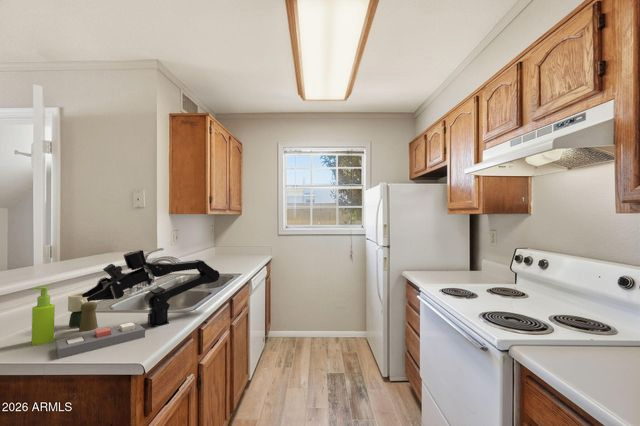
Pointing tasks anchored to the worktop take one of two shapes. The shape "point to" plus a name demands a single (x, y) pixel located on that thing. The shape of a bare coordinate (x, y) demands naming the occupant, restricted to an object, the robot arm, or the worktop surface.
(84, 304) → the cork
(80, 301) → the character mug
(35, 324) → the soap dispenser
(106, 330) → the red button
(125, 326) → the button
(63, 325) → the worktop surface
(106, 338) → the button panel
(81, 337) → the button
